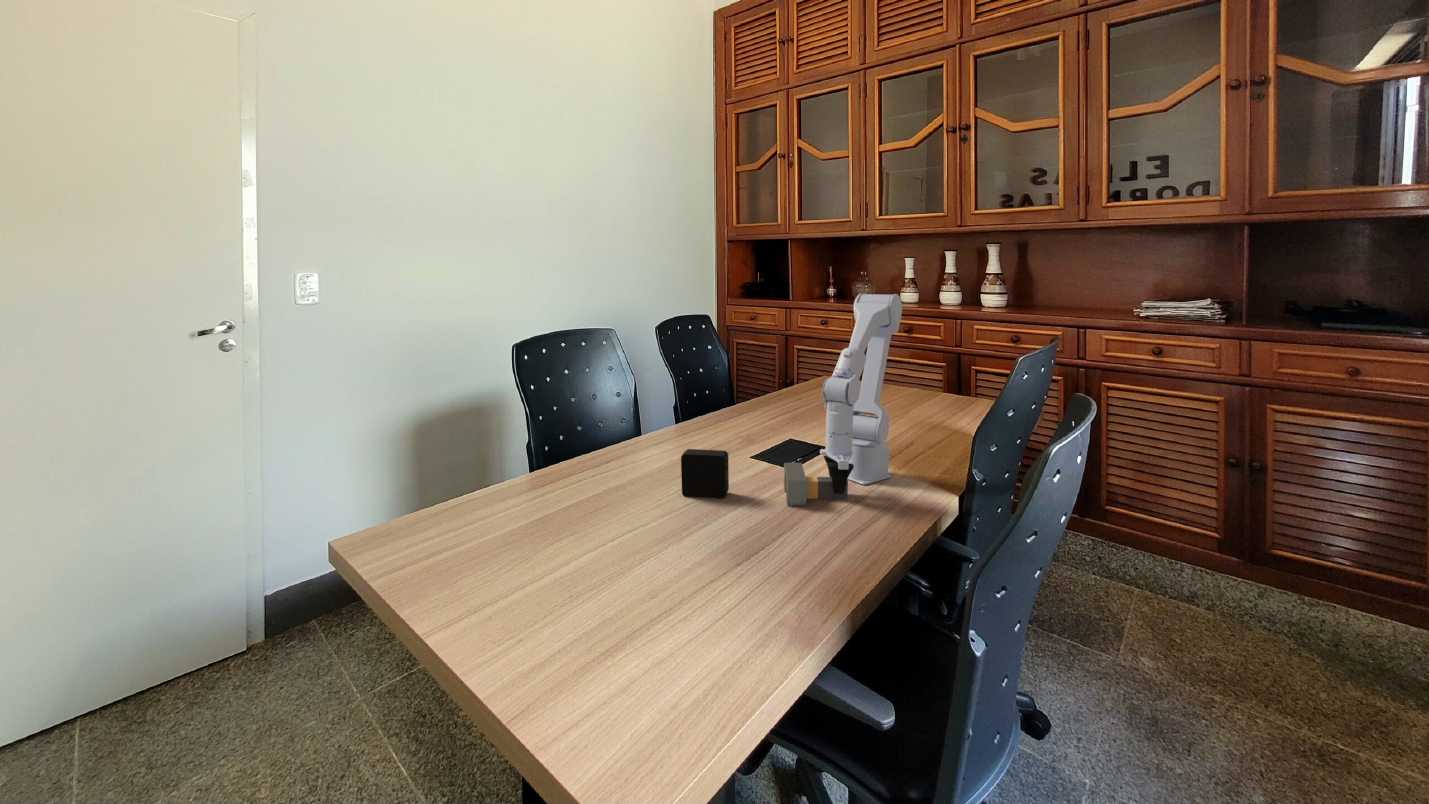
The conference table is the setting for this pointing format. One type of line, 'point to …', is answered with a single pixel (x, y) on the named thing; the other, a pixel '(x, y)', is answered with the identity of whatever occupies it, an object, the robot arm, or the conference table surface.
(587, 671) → the conference table surface
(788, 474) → the grey rectangular block
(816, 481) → the orange and grey bar
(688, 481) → the electronic device
